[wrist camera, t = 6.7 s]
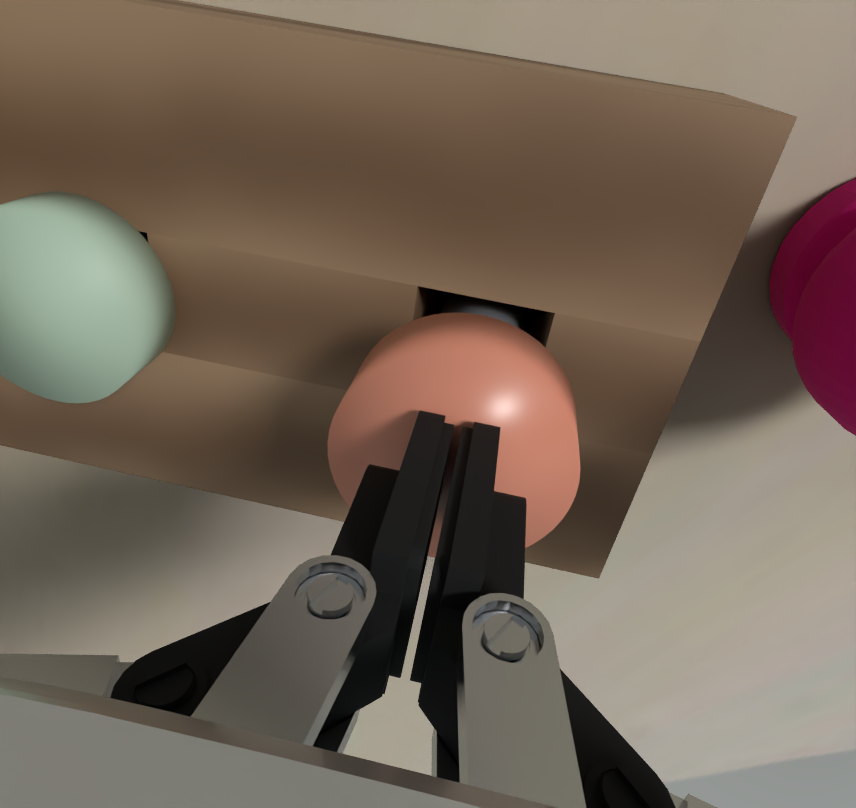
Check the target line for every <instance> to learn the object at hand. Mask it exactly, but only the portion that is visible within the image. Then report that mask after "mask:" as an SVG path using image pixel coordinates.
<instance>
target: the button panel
mask: <svg viewBox="0 0 856 808" xmlns="http://www.w3.org/2000/svg"><path fill="white" fill-rule="evenodd" d="M796 118H797V117H795V116H792V115H789V114H786V113H783V112H780V111H777V110H774V109H770V108H767V107H764V106H761V105H758V104H755V103H752V102H749V101H746V100H742V99H739V98H736V97H733V96H730V95H727V94H724V93H718V92H712V91H706V90H700V89H694V88H689V87H683V86H677V85H671V84H665V83H659V82H653V81H648V80H642V79H636V78H630V77H624V76H618V75H612V74H607V73H601V72H595V71H589V70H583V69H577V68H571V67H566V66H560V65H554V64H548V63H542V62H536V61H530V60H524V59H519V58H513V57H507V56H501V55H495V54H489V53H483V52H478V51H472V50H466V49H460V48H454V47H448V46H442V45H437V44H431V43H425V42H419V41H413V40H407V39H401V38H396V37H390V36H384V35H378V34H372V33H366V32H360V31H355V30H349V29H343V28H337V27H331V26H325V25H319V24H313V23H308V22H302V21H296V20H290V19H284V18H278V17H272V16H267V15H261V14H255V13H249V12H243V11H237V10H231V9H226V8H220V7H214V6H208V5H202V4H196V3H190V2H185V1H179V0H0V205H1V204H4V203H7V202H10V201H13V200H17V199H20V198H23V197H26V196H29V195H33V194H36V193H41V192H46V191H61V192H69V193H74V194H78V195H82V196H85V197H87V198H90V199H92V200H95V201H97V202H99V203H101V204H103V205H105V206H106V207H108V208H110V209H111V210H113V211H114V212H116V213H117V214H119V215H120V216H121V217H123V218H124V219H125V220H126V221H128V222H129V223H130V224H131V225H132V226H133V227H134V228H135V229H136V230H137V231H140V232H145V233H147V236H148V243H149V244H150V246H151V247H152V249H153V250H154V251H155V253H156V254H157V256H158V257H159V259H160V261H161V263H162V265H163V267H164V268H165V271H166V273H167V275H168V278H169V280H170V283H171V287H172V290H173V294H174V300H175V313H176V317H175V325H174V329H173V333H172V336H171V338H170V340H169V342H168V344H167V346H166V347H165V349H164V350H163V351H162V352H161V353H160V354H159V355H158V356H157V357H156V358H155V359H154V360H153V361H151V362H150V363H149V364H148V365H147V366H145V367H144V368H143V369H142V370H141V371H139V372H138V373H137V374H136V375H135V376H133V377H132V378H131V379H130V380H129V381H127V382H126V383H125V384H124V385H123V386H121V387H120V388H119V389H118V390H117V391H115V392H114V393H112V394H111V395H109V396H108V397H105V398H103V399H100V400H97V401H93V402H89V403H65V402H59V401H54V400H50V399H47V398H43V397H41V396H38V395H35V394H33V393H31V392H29V391H27V390H25V389H22V388H21V387H19V386H17V385H15V384H14V383H12V382H10V381H9V380H7V379H6V378H5V377H3V376H2V375H0V445H2V446H7V447H11V448H16V449H20V450H25V451H29V452H34V453H38V454H43V455H47V456H52V457H56V458H61V459H65V460H70V461H74V462H79V463H83V464H88V465H92V466H97V467H101V468H106V469H110V470H115V471H119V472H124V473H128V474H132V475H137V476H141V477H146V478H150V479H155V480H159V481H164V482H168V483H173V484H177V485H182V486H186V487H191V488H195V489H200V490H204V491H209V492H213V493H218V494H222V495H227V496H231V497H236V498H240V499H245V500H249V501H254V502H258V503H262V504H267V505H271V506H276V507H280V508H285V509H289V510H294V511H298V512H303V513H307V514H312V515H316V516H321V517H325V518H330V519H334V520H339V521H343V522H345V519H346V517H347V514H348V512H349V510H350V507H349V506H348V505H347V503H346V502H345V500H344V498H343V497H342V495H341V494H340V492H339V490H338V488H337V486H336V484H335V482H334V479H333V476H332V473H331V470H330V466H329V460H328V435H329V429H330V426H331V423H332V419H333V416H334V414H335V412H336V410H337V409H338V407H339V405H340V403H341V401H342V399H343V397H344V396H345V394H346V392H347V390H348V388H349V386H350V385H351V383H352V381H353V379H354V377H355V376H356V374H357V372H358V370H359V368H360V367H361V365H362V363H363V361H364V359H365V358H366V356H367V355H368V354H369V352H370V351H371V350H372V348H373V347H374V346H375V345H376V344H377V343H378V342H379V341H380V340H381V339H382V338H383V337H385V336H386V335H387V334H389V333H390V332H391V331H393V330H394V329H396V328H398V327H400V326H402V325H404V324H405V323H408V322H410V321H413V320H416V319H418V318H421V317H426V316H430V315H434V312H435V306H436V299H437V293H438V290H440V291H445V292H450V293H455V294H461V295H466V296H471V297H476V298H481V299H486V300H491V301H496V302H501V303H506V304H511V305H517V306H522V307H527V308H532V309H536V310H535V313H534V317H533V321H532V325H531V329H530V333H529V335H531V336H532V337H533V338H535V339H536V340H537V341H539V342H540V343H541V344H542V345H543V346H544V347H545V348H546V349H547V350H548V351H549V352H550V353H551V354H552V355H553V356H554V358H555V359H556V360H557V361H558V363H559V364H560V366H561V367H562V369H563V371H564V372H565V374H566V376H567V378H568V381H569V383H570V386H571V388H572V392H573V396H574V400H575V408H576V420H577V431H578V443H579V454H580V468H581V470H580V480H579V485H578V489H577V493H576V496H575V498H574V501H573V503H572V505H571V507H570V509H569V510H568V512H567V513H566V515H565V516H564V518H563V519H562V520H561V521H560V523H559V524H558V525H557V526H556V527H555V528H554V529H553V530H552V531H551V532H549V533H548V534H547V535H546V536H545V537H543V538H542V539H540V540H539V541H537V542H536V543H534V544H532V545H531V546H528V547H526V548H525V562H527V563H531V564H536V565H540V566H545V567H549V568H554V569H558V570H563V571H567V572H572V573H576V574H581V575H585V576H590V577H594V578H599V577H600V574H601V572H602V570H603V567H604V565H605V563H606V560H607V558H608V556H609V553H610V551H611V549H612V546H613V544H614V542H615V540H616V537H617V535H618V533H619V530H620V528H621V526H622V523H623V521H624V519H625V516H626V514H627V512H628V509H629V507H630V505H631V502H632V500H633V498H634V495H635V493H636V491H637V488H638V486H639V484H640V481H641V479H642V477H643V474H644V472H645V470H646V467H647V465H648V463H649V460H650V458H651V456H652V453H653V451H654V449H655V446H656V444H657V442H658V439H659V437H660V435H661V433H662V430H663V428H664V426H665V423H666V421H667V419H668V416H669V414H670V412H671V409H672V407H673V405H674V402H675V400H676V398H677V395H678V393H679V391H680V388H681V386H682V384H683V381H684V379H685V377H686V374H687V372H688V370H689V367H690V365H691V363H692V360H693V358H694V356H695V353H696V351H697V349H698V346H699V344H700V342H701V339H702V337H703V335H704V332H705V330H706V328H707V326H708V323H709V321H710V319H711V316H712V314H713V312H714V309H715V307H716V305H717V302H718V300H719V298H720V295H721V293H722V291H723V288H724V286H725V284H726V281H727V279H728V277H729V274H730V272H731V270H732V267H733V265H734V263H735V260H736V258H737V256H738V253H739V251H740V249H741V246H742V244H743V242H744V239H745V237H746V235H747V232H748V230H749V228H750V225H751V223H752V221H753V218H754V216H755V214H756V212H757V209H758V207H759V205H760V202H761V200H762V198H763V195H764V193H765V191H766V188H767V186H768V184H769V181H770V179H771V177H772V174H773V172H774V170H775V167H776V165H777V163H778V160H779V158H780V156H781V153H782V151H783V149H784V146H785V144H786V142H787V139H788V137H789V135H790V132H791V130H792V128H793V125H794V123H795V121H796Z"/></svg>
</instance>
